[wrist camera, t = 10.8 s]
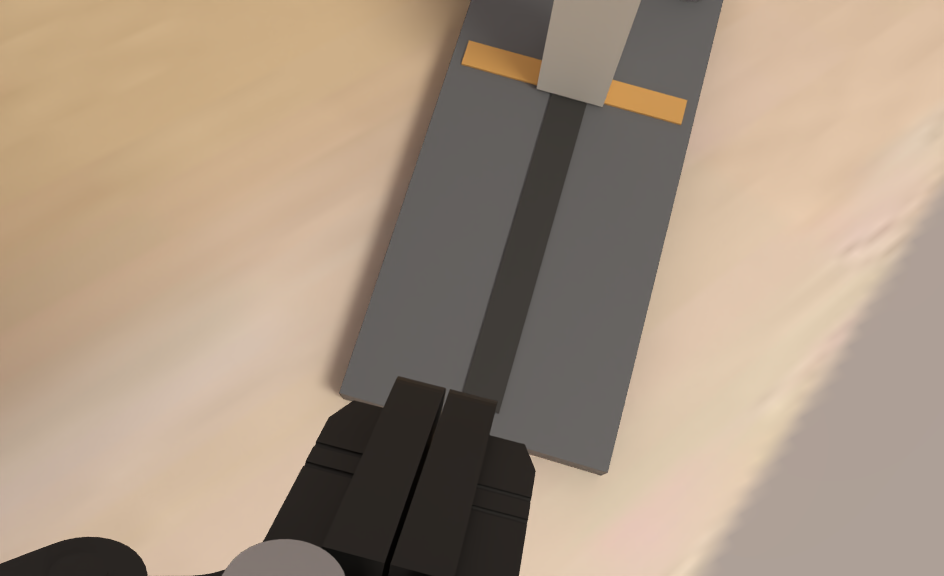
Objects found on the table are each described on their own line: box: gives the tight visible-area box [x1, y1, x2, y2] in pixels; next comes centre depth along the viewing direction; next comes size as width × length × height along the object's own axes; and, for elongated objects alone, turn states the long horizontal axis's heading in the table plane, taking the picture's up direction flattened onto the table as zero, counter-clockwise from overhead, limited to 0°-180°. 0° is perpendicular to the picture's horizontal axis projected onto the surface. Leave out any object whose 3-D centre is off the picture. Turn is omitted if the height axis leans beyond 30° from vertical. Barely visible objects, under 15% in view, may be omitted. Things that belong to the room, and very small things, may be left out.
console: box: [339, 0, 723, 475], centre depth 38 cm, size 11×24×4 cm, turn 164°
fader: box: [536, 0, 641, 107], centre depth 35 cm, size 3×3×10 cm
